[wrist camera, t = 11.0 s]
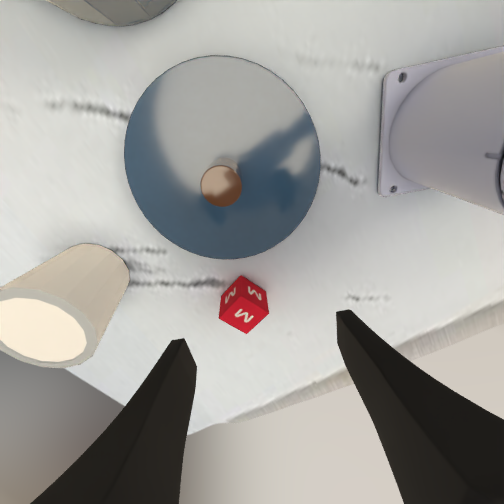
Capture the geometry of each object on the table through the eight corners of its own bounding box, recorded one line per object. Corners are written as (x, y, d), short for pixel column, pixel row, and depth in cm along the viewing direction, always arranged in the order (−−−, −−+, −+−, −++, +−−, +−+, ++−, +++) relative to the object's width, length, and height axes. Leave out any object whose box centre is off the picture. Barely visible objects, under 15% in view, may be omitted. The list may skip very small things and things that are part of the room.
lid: (308, 35, 15) (332, 7, 11) (321, 237, 21) (339, 263, 17) (94, 85, 15) (47, 74, 12) (168, 265, 22) (153, 296, 18)
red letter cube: (220, 296, 23) (218, 318, 21) (240, 274, 22) (240, 295, 20) (246, 310, 24) (246, 334, 22) (266, 291, 23) (269, 313, 21)
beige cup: (34, 257, 21) (-54, 315, 15) (100, 222, 20) (35, 270, 13) (92, 313, 24) (41, 381, 18) (153, 286, 23) (119, 349, 16)
